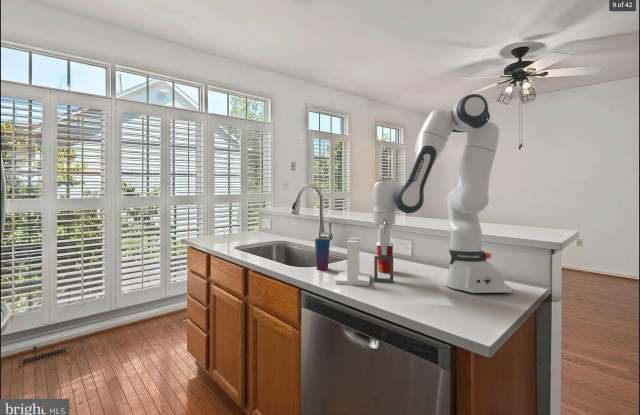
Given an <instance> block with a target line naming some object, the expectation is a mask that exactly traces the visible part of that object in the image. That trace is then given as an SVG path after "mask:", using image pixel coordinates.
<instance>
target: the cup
mask: <svg viewBox="0 0 640 415" xmlns="http://www.w3.org/2000/svg"><path fill="white" fill-rule="evenodd" d="M330 242H331V239H330V238H326V237H323V238H322V237H320V238H314V246H315V264H316V270H317V271H321V272H324V271H328V270H329V258H330V245H331V244H330Z"/></svg>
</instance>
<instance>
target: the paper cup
mask: <svg viewBox="0 0 640 415" xmlns="http://www.w3.org/2000/svg"><path fill="white" fill-rule="evenodd" d="M380 248H381V245H380V242H379V240H378V241H377V242H376V249H377V250H376V253H377V255H376V256H380ZM387 248H388V256H393V252H394V251H393V250H394V242H393V241H390V244H389V245H387ZM377 272H379V273H380V274H381V273H382V274H390V260H378V259H377Z"/></svg>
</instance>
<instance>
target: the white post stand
mask: <svg viewBox="0 0 640 415" xmlns="http://www.w3.org/2000/svg"><path fill="white" fill-rule="evenodd" d="M346 246H347V248H346V249H347V250H346V252H347V254H346V257H347V259H346V260H347V261H346V262H347V265H346V266H347V267H346V268H347V269H346V271H339V272H338V274H337V276H336V279H335V285H345V286H346V285H347V286H370V285H371V284H370V283H371V273H370V272H360V237H349V240H347V245H346Z"/></svg>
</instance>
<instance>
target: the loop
mask: <svg viewBox="0 0 640 415" xmlns="http://www.w3.org/2000/svg"><path fill="white" fill-rule="evenodd" d="M378 260H390V273H389V278H388V277H387V278H386V277H385V278H384V277H378ZM373 263H374V267H373V268H374V270H373V272H374V275H373V276H374V277H373V278H374V279H373V280H374V283H383V284H384V283H385V284H386V283H387V284H389V283H391V284H393V283H394V256H393V255H392V256H388V248H387V250H386V255H382V248H380V256H378V255H374V262H373Z"/></svg>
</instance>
